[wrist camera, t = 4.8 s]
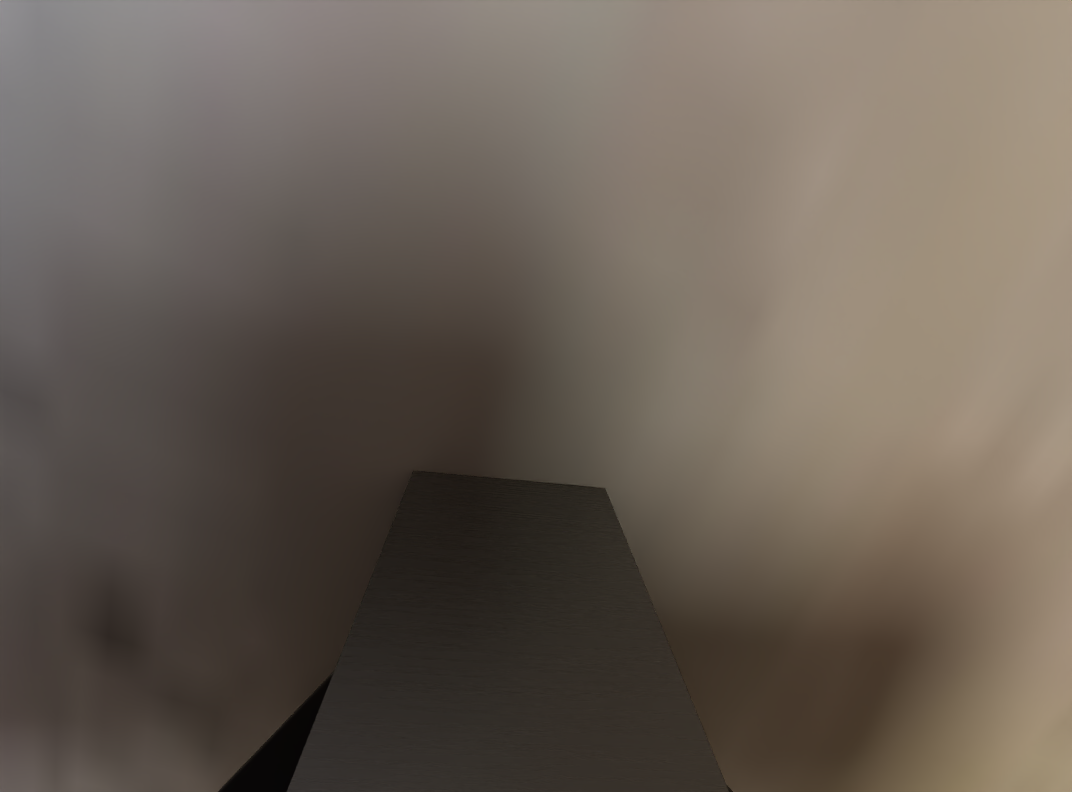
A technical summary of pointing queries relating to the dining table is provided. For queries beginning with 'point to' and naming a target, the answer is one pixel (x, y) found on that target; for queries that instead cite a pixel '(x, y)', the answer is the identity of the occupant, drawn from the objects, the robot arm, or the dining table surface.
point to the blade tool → (506, 656)
